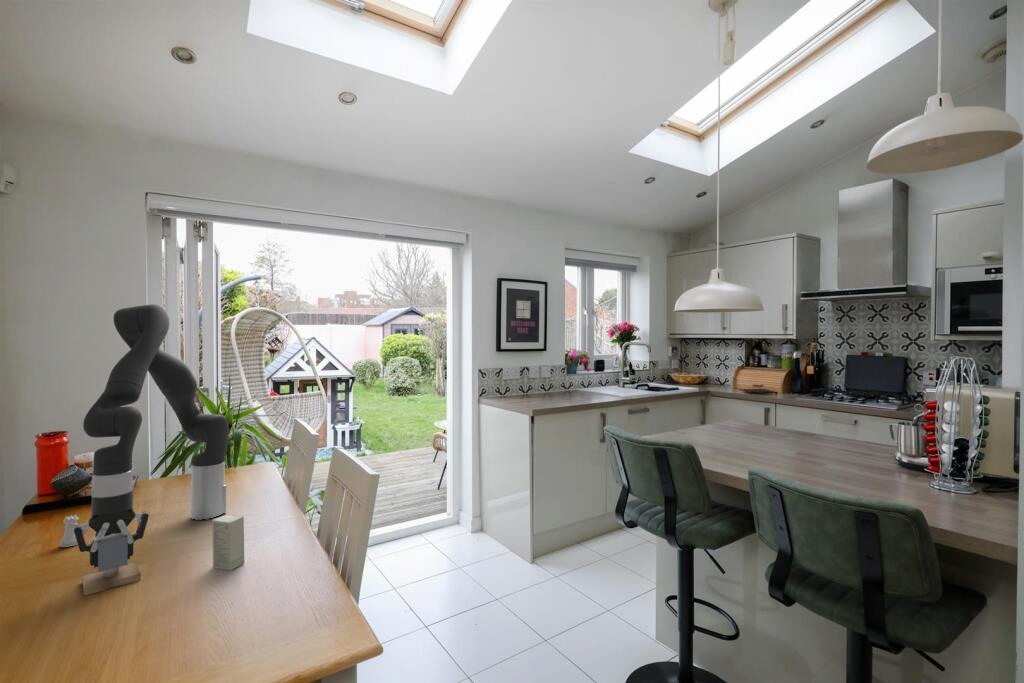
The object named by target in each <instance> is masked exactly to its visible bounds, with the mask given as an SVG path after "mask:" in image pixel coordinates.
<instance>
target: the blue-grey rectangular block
mask: <svg viewBox="0 0 1024 683" xmlns="http://www.w3.org/2000/svg"><path fill="white" fill-rule="evenodd" d="M97 550H98V567H96V569H97V572H102V571H106V570H109V569H113V568H117V567H121V566H125V565H127V564H128V560H127V555H128V537H127V536H125V537H124V535H123V533H122V532H121V533H118V534H111V535H108V536H104V537H103V539H102V541H101V542H98V549H97Z"/></svg>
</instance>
